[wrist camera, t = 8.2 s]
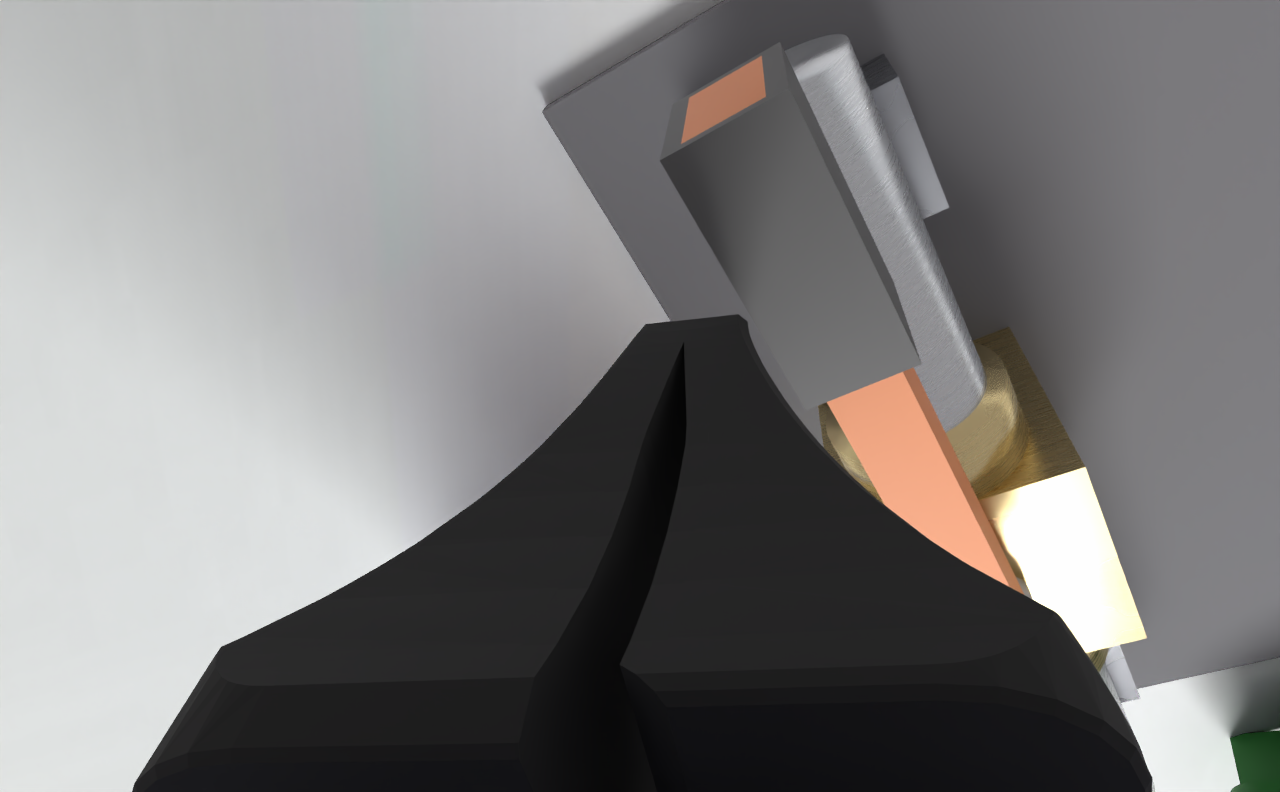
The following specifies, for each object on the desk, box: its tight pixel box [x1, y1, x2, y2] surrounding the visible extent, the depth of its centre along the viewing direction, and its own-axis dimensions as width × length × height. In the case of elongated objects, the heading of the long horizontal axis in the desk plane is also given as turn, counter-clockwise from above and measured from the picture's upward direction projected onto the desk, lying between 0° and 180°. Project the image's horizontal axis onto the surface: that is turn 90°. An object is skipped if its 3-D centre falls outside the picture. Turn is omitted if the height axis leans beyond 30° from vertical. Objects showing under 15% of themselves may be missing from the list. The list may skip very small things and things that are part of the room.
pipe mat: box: [542, 0, 1280, 689], centre depth 22 cm, size 18×26×1 cm
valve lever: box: [660, 42, 1033, 599], centre depth 14 cm, size 14×2×3 cm, turn 31°
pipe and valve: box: [785, 34, 1155, 792], centre depth 21 cm, size 5×24×6 cm, turn 30°
